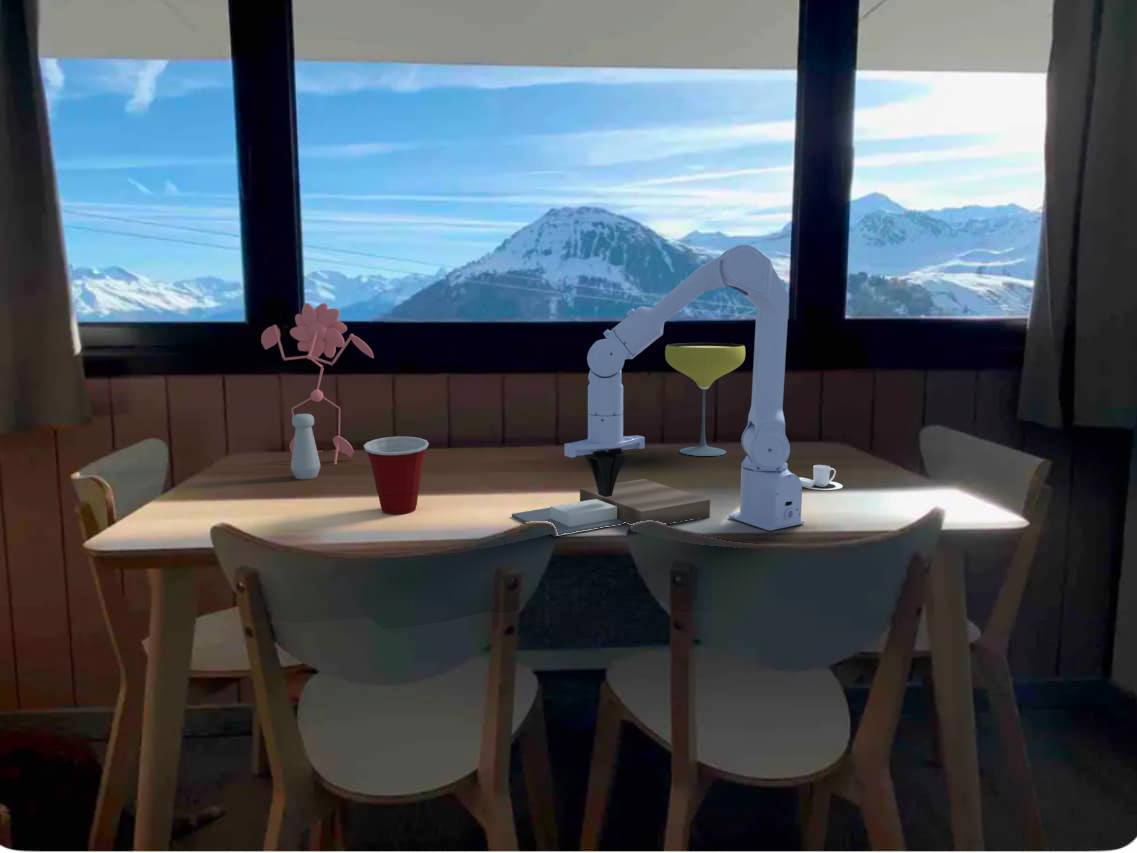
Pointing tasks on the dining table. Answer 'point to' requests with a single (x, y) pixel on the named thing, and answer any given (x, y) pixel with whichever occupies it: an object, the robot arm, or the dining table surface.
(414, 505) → the plastic cup
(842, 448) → the dining table surface
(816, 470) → the teacup and saucer
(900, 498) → the dining table surface
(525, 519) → the mat
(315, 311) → the figurine
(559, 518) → the pale grey flat block
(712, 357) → the cocktail glass
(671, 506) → the deck
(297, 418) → the salt shaker
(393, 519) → the dining table surface
